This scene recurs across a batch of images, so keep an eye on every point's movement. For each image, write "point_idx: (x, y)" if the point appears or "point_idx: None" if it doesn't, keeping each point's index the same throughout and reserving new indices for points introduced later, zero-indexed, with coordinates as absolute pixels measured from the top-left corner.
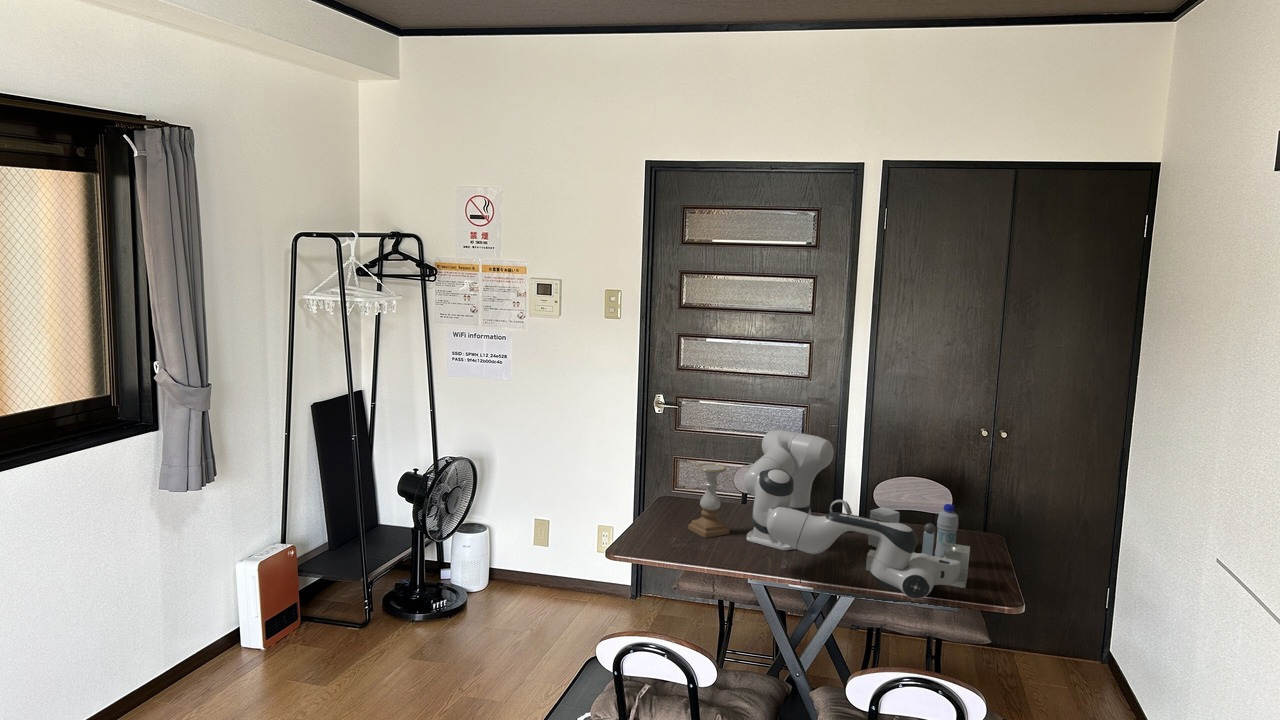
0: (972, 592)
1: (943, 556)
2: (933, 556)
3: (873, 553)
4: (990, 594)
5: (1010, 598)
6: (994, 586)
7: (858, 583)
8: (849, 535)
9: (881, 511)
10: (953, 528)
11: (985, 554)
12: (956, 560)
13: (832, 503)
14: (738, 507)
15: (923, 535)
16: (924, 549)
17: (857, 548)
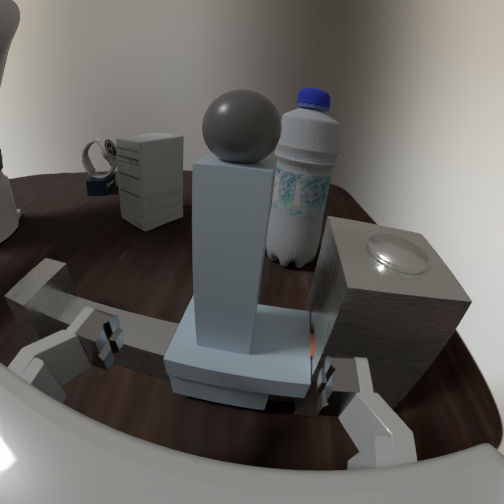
0: (414, 440)
1: (352, 372)
2: (268, 500)
3: (33, 281)
4: (458, 419)
5: (496, 411)
6: (442, 354)
7: None
8: (106, 200)
9: (138, 137)
10: (328, 160)
11: None
12: (491, 463)
13: (85, 147)
14: (19, 181)
15: (192, 182)
16: (207, 279)
17: (87, 233)
